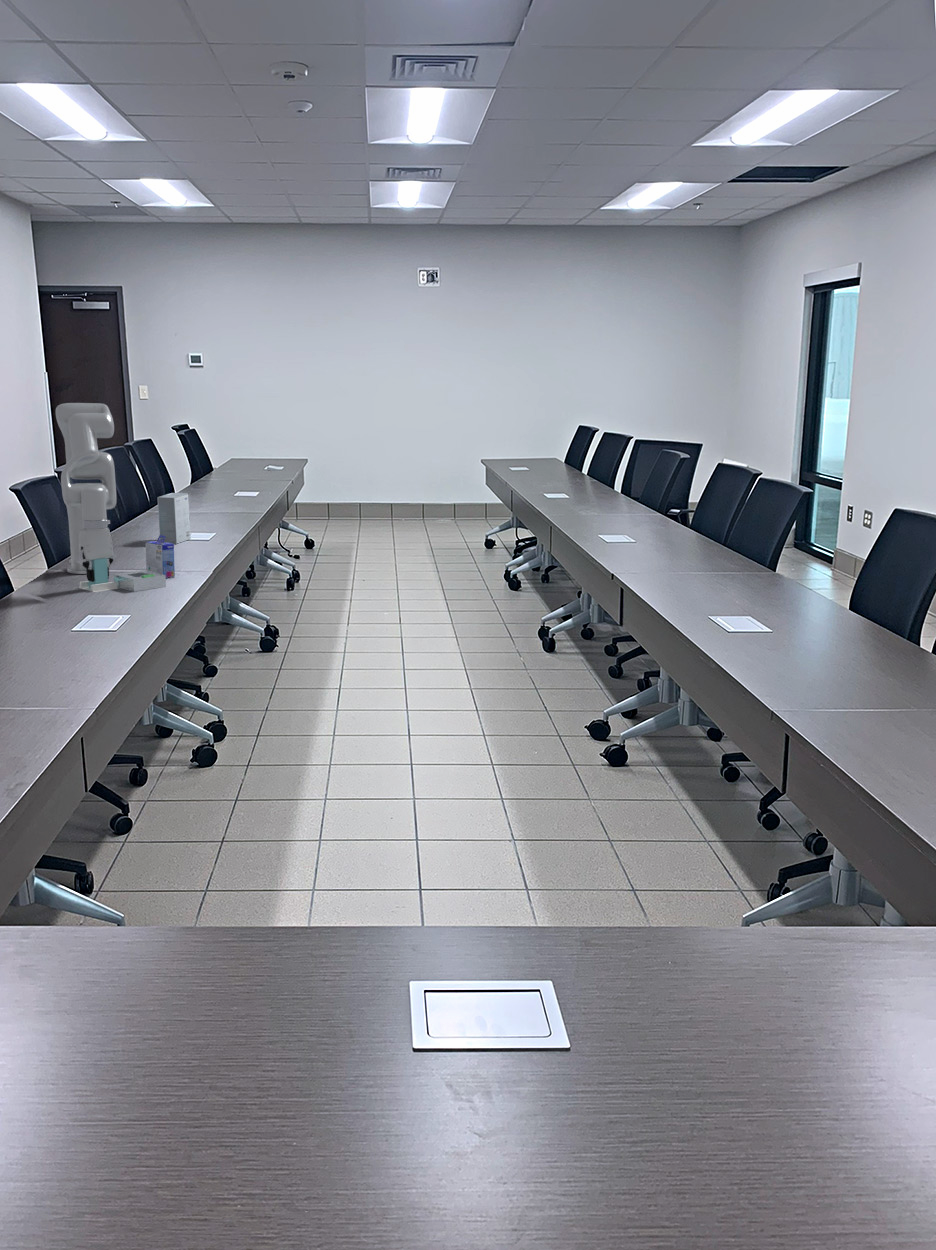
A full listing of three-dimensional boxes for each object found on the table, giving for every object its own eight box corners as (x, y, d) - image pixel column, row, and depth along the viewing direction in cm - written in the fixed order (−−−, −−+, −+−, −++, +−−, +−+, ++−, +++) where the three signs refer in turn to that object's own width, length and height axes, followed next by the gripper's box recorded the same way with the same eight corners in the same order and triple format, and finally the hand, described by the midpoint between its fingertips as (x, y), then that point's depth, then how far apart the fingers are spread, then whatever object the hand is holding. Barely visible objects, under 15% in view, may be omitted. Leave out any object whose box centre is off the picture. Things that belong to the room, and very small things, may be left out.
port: (114, 589, 350) (113, 572, 348) (145, 584, 358) (144, 568, 357) (134, 594, 342) (133, 577, 341) (166, 589, 351) (165, 573, 350)
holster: (78, 590, 346) (77, 581, 346) (103, 586, 353) (102, 578, 352) (94, 595, 340) (94, 586, 339) (119, 591, 347) (118, 582, 346)
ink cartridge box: (176, 577, 372) (174, 536, 369) (163, 579, 368) (161, 538, 365) (158, 573, 378) (156, 533, 375) (145, 575, 374) (143, 535, 370)
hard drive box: (174, 538, 457) (172, 492, 452) (191, 539, 456) (189, 493, 451) (159, 543, 442) (157, 496, 437) (176, 544, 441) (174, 497, 436)
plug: (88, 587, 346) (86, 556, 344) (101, 585, 349) (99, 554, 347) (96, 589, 343) (94, 557, 341) (108, 588, 346) (106, 556, 344)
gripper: (112, 521, 350) (115, 575, 354) (64, 526, 337) (68, 581, 342) (124, 523, 345) (127, 578, 350) (77, 528, 333) (80, 585, 337)
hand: (98, 579), depth 346 cm, fingers closed on plug, 4 cm apart
